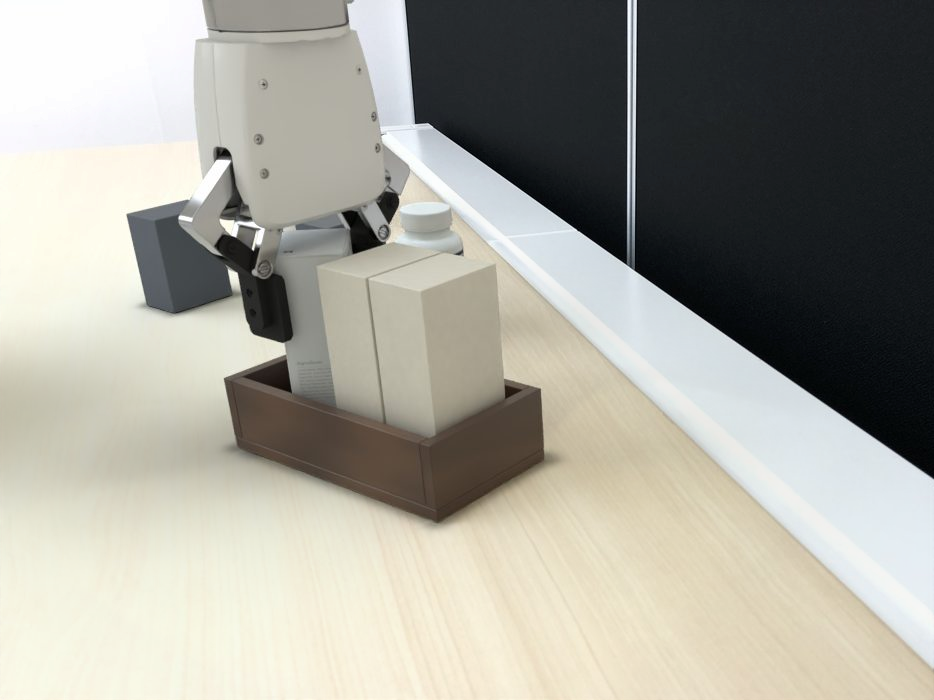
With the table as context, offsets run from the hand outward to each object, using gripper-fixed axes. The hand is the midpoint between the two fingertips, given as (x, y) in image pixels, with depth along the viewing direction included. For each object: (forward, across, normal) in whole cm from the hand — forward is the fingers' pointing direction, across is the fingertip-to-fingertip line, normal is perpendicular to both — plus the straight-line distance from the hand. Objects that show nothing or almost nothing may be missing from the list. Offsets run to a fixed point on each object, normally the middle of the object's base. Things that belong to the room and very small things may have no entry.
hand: (322, 316), depth 68 cm
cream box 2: (+7, 0, +10) cm, 12 cm away
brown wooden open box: (+8, 0, +4) cm, 9 cm away
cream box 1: (+7, 0, +6) cm, 9 cm away
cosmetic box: (+7, 0, 0) cm, 7 cm away
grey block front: (+8, -18, -19) cm, 27 cm away
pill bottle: (+8, -19, -10) cm, 23 cm away
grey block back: (+8, -12, -33) cm, 36 cm away
